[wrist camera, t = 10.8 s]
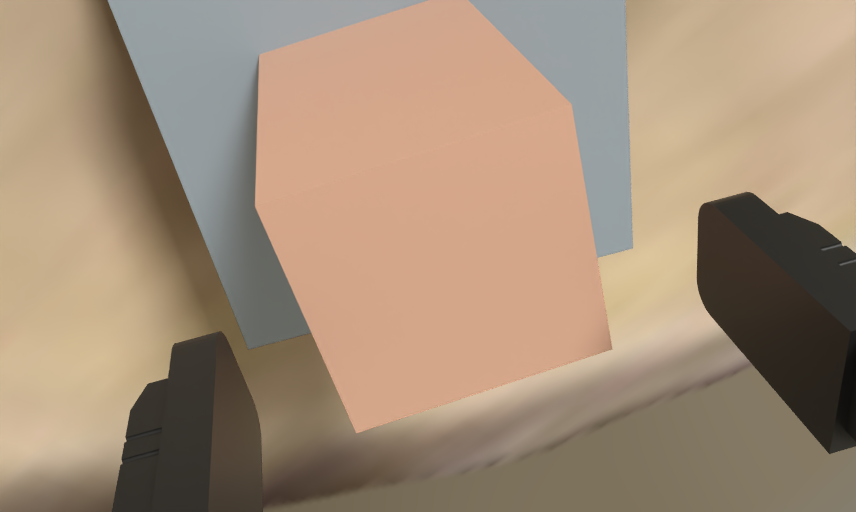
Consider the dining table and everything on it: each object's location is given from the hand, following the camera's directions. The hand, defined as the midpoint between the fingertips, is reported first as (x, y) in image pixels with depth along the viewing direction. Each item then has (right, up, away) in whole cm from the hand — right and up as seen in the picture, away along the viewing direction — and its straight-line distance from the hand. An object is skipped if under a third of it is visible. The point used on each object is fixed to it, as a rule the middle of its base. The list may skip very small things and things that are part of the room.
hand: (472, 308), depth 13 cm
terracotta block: (-2, +4, +7) cm, 8 cm away
